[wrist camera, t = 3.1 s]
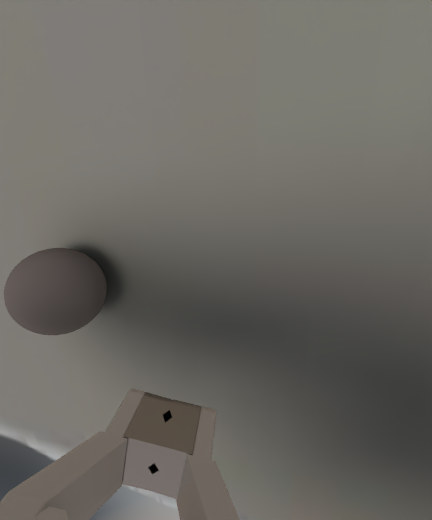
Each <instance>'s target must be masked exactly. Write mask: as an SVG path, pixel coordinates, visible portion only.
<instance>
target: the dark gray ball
mask: <svg viewBox="0 0 432 520" xmlns="http://www.w3.org/2000/svg"><path fill="white" fill-rule="evenodd" d="M106 293H107V285H106V279H105V276H104V273H103V272H102V270H101V268H100V267H99V266H98V264H97V263H96V262H95V261H94V260H92V259H91V258H90V257H88V256H87V255H85V254H83V253H81V252H78V251H75V250H71V249H65V248H53V249H47V250H42V251H39V252H36V253H34V254H32V255H30V256H28V257H26V258H25V259H24V260H22V261H21V262H20V263H19V264H18V265H17V266H16V267H15V268H14V269H13V270H12V272H11V273H10V275H9V277H8V279H7V281H6V284H5V289H4V300H5V305H6V308H7V310H8V312H9V314H10V315H11V317H12V318H13V319H14V320H15V321H16V322H17V323H18V324H19V325H20V326H22V327H24V328H25V329H27V330H29V331H32V332H34V333H38V334H43V335H60V334H66V333H69V332H73V331H75V330H77V329H80V328H81V327H83V326H85V325H86V324H88V323H89V322H90V321H91V320H92V319H93V318H94V317H95V316H96V315H97V314H98V313H99V311H100V310H101V308H102V306H103V304H104V302H105V298H106Z"/></svg>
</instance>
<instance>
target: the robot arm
mask: <svg viewBox="0 0 432 520" xmlns="http://www.w3.org/2000/svg"><path fill="white" fill-rule="evenodd" d="M215 421H216V410H214V409H210V408H206V407H201V406H199V405H194V404H190V403H186V402H182V401H178V400H172V399H168V398H165V397H161V396H158V395H154V394H151V393H147V392H143V391H139V390H136V389H131V390H130V391H129V392H128V393H127V395H126V397H125V399H124V400H123V402H122V404H121V406H120V407H119V409H118V411H117V413H116V414H115V416H114V418H113V419H112V421H111V423H110V425H109V426H108V428H107V430H106V432H99V433H97V434H96V435H94V436H93V437H91V438H90V439H88V440H87V441H85V442H84V443H82V444H81V445H79V446H77V447H76V448H74V449H73V450H71V451H70V452H68V453H67V454H65V455H64V456H62V457H61V458H59V459H58V460H56V461H55V462H53V463H52V464H50V465H49V466H47V467H46V468H44V469H43V470H41V471H39V472H38V473H36V474H35V475H34V476H32V477H30V478H29V479H27V480H26V481H24V482H23V483H21V484H20V485H18V486H17V487H15V488H14V489H12V490H11V491H9V492H8V493H7V494H6V496H5V497H4V498H3V500H2V501H1V502H0V520H89V519H90V518H91V517H92V516H93V515H94V514H95V513H96V512H97V510H99V508H100V507H101V506H102V505H103V504H104V503H105V502H106V501H107V500H108V499H109V498H110V497H111V496H112V495H113V494H114V493H115V492H116V491H117V490H118V489H119V488H120V487H121V484H124V485H128V486H133V487H137V488H141V489H146V490H150V491H153V492H156V493H159V494H163V495H166V496H169V497H172V498H176V499H177V500H176V501H177V506H178V511H179V516H180V520H239V517H238V515H237V512H236V510H235V507H234V505H233V503H232V500H231V498H230V495H229V493H228V490H227V488H226V486H225V483H224V481H223V478H222V476H221V474H220V471H219V469H218V466H217V464H216V462H215V461H211V455H212V447H213V438H214V429H215Z"/></svg>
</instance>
